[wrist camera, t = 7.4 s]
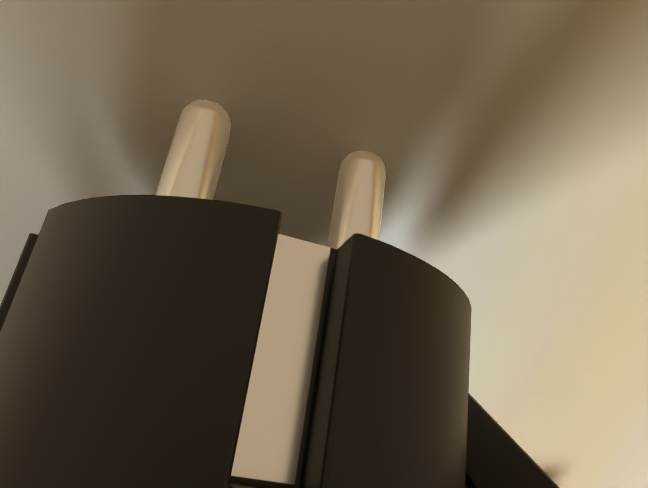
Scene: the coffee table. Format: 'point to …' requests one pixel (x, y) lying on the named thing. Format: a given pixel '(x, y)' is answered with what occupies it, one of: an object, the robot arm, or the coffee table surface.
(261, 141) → the coffee table surface
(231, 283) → the power plug
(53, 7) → the coffee table surface
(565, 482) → the coffee table surface
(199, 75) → the coffee table surface
